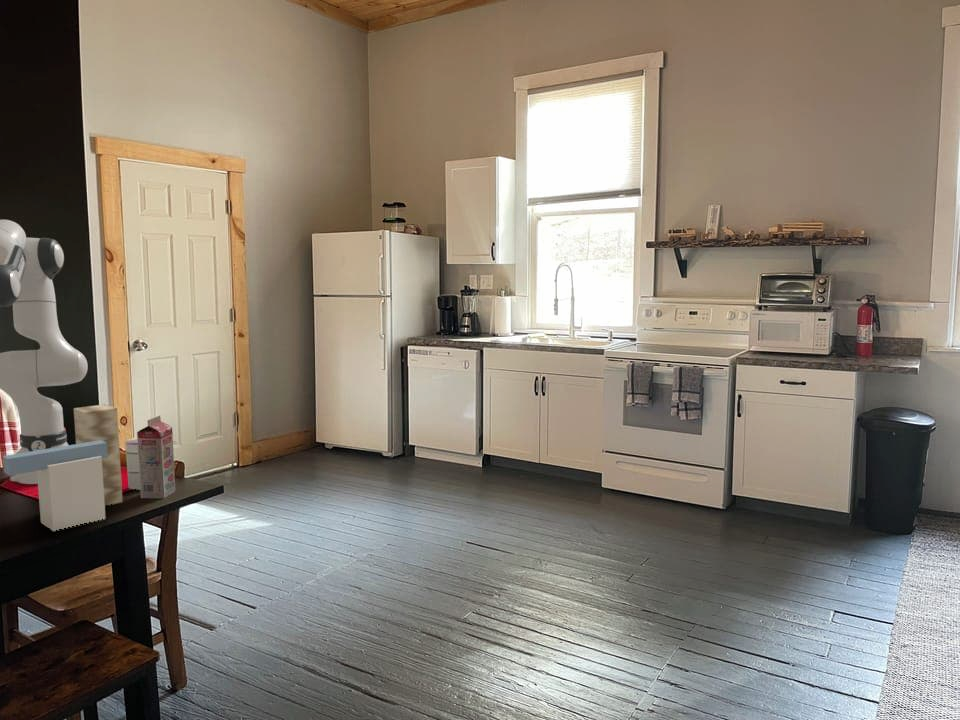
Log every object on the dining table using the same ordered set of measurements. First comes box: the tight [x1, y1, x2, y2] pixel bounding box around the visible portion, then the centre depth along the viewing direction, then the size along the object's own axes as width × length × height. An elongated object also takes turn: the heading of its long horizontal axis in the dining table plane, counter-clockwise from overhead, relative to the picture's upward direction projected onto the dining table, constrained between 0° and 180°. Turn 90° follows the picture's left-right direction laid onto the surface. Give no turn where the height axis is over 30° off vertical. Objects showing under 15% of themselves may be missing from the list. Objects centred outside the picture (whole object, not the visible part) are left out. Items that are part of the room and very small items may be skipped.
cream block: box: [37, 456, 106, 532], centre depth 183 cm, size 12×9×16 cm
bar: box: [2, 440, 108, 477], centre depth 180 cm, size 22×4×4 cm, turn 138°
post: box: [73, 404, 123, 507], centre depth 197 cm, size 8×8×26 cm
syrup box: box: [124, 436, 140, 491], centre depth 211 cm, size 6×6×14 cm
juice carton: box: [136, 415, 176, 499], centre depth 204 cm, size 7×7×22 cm
